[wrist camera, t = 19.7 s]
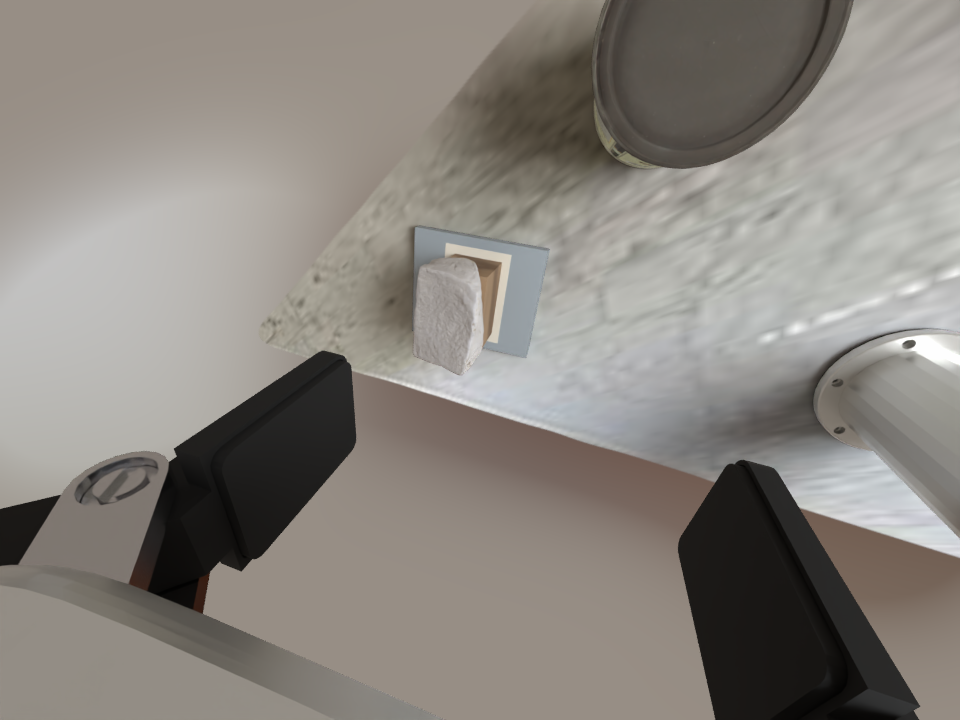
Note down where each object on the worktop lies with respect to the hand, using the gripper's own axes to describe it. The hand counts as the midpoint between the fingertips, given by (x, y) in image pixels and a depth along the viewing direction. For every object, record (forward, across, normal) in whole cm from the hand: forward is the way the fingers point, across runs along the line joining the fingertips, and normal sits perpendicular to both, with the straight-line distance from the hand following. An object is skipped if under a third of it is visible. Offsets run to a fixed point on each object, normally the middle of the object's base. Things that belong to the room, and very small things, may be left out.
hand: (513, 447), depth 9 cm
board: (+30, +9, +7) cm, 32 cm away
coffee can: (+31, -4, -12) cm, 33 cm away
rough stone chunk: (+23, +9, +6) cm, 26 cm away
